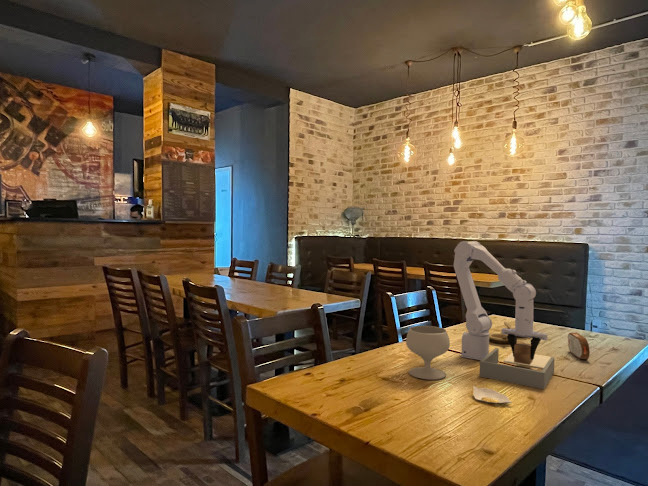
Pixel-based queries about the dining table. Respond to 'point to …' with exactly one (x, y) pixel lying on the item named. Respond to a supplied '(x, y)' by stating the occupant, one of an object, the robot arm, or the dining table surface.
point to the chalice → (427, 349)
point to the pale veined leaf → (490, 395)
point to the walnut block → (522, 353)
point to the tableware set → (502, 338)
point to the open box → (515, 372)
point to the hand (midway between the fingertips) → (523, 357)
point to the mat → (537, 362)
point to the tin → (578, 346)
